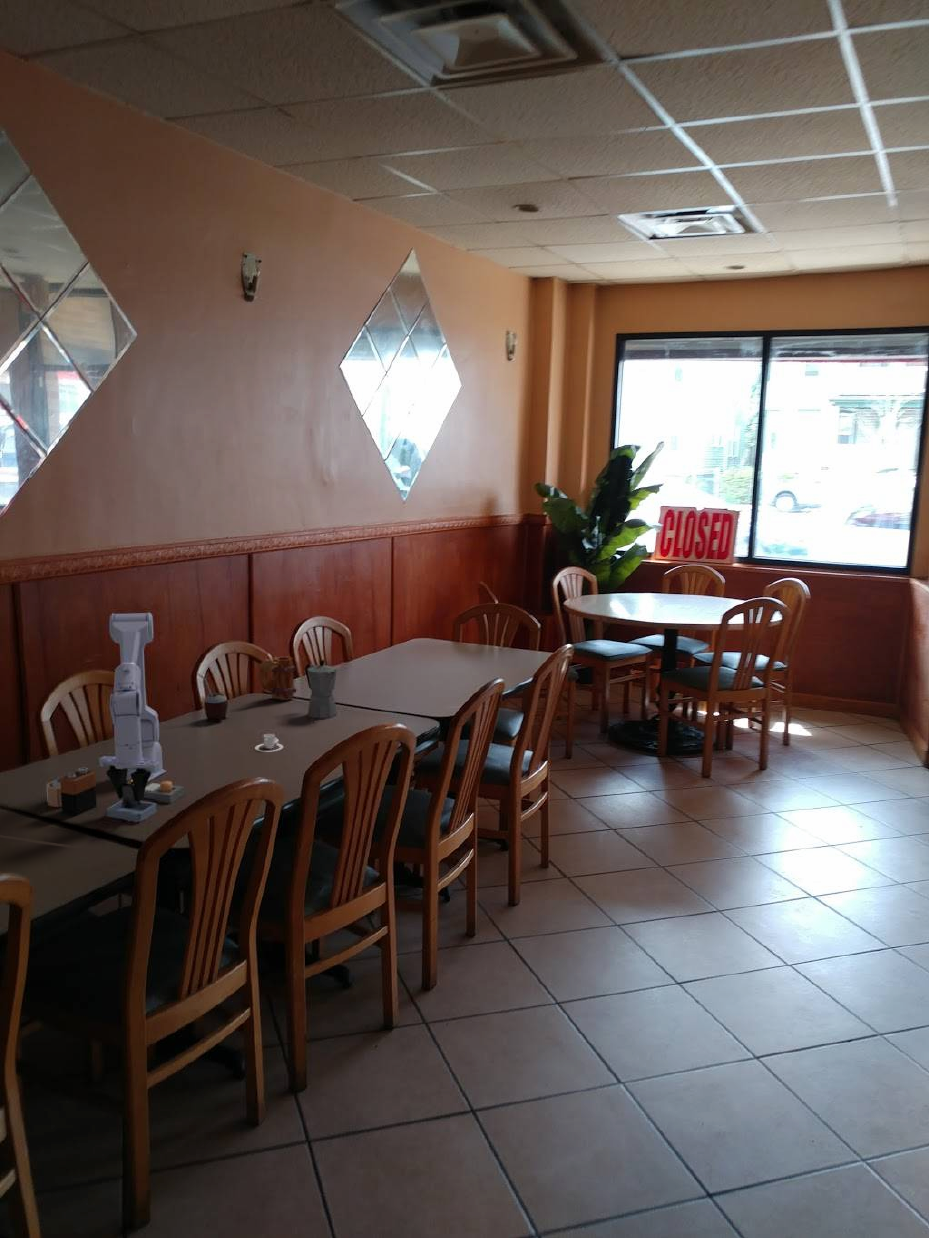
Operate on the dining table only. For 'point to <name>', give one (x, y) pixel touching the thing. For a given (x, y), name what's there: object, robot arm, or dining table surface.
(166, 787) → the button
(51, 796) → the cup
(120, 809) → the trough tray
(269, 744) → the teacup and saucer
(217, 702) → the mate gourd
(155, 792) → the base
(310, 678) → the coffeepot
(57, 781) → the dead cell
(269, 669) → the mug
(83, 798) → the battery
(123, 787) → the copper top cell
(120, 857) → the dining table surface
